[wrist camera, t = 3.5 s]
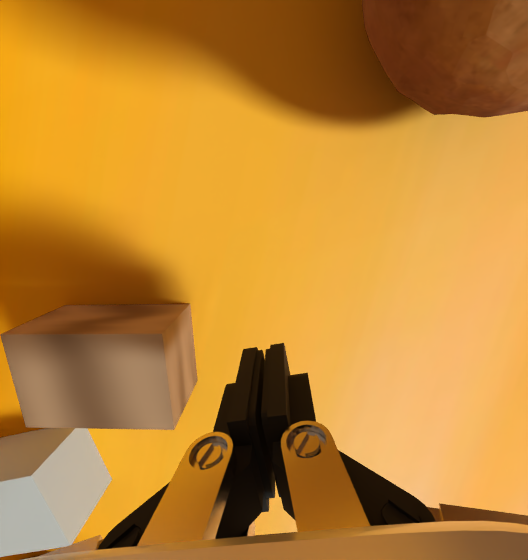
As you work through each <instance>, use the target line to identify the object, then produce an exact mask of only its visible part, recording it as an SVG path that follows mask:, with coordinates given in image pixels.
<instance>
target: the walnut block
mask: <svg viewBox="0 0 528 560" xmlns="http://www.w3.org/2000/svg"><path fill="white" fill-rule="evenodd" d="M0 335H1V339H2V342H3V346H4V350H5V353H6V357H7V360H8V364H9V368H10V371H11V375H12V378H13V382H14V386H15V389H16V393H17V397H18V400H19V404H20V407H21V411H22V415H23V418H24V422H25V425H26V427H35V428H100V429H165V430H174V429H175V427H176V425H177V423H178V420H179V418H180V416H181V414H182V412H183V410H184V408H185V406H186V404H187V401H188V399H189V397H190V395H191V393H192V391H193V389H194V387H195V385H196V383H197V370H196V360H195V349H194V339H193V328H192V318H191V307H190V304H129V305H65V306H62V307H60V308H58V309H56V310H54V311H51V312H49V313H47V314H45V315H42V316H40V317H38V318H36V319H34V320H31V321H29V322H27V323H25V324H22V325H20V326H18V327H16V328H14V329H11V330H9V331H7V332H5V333H2V334H0Z"/></svg>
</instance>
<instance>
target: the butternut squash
mask: <svg viewBox="0 0 528 560" xmlns="http://www.w3.org/2000/svg"><path fill="white" fill-rule="evenodd" d="M362 7H363V16H364V25H365V28H366V32H367V35H368V39H369V42H370V44H371V46H372V48H373V50H374V52H375V54H376V56H377V58H378V60H379V62H380V63H381V65H382V67H383V69H384V71H385V72H386V74H387V76H388V77H389V79H390V80H391V82H392V83H393V85H394V86H395V88H396V90H397V91H398V92H400V93H401V94H402V95H404V96H406V97H408V98H410V99H411V100H413V101H414V102H416V103H417V104H418V105H420V106H421V107H423V108H424V109H426V110H427V111H429V112H430V113H432V114H434V115H436V114H459V115H469V116H477V117H492V116H498V115H504V114H510V113H517V112H523V111H528V0H362Z"/></svg>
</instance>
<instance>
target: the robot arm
mask: <svg viewBox="0 0 528 560" xmlns="http://www.w3.org/2000/svg"><path fill="white" fill-rule="evenodd" d="M275 481H276V486H277V490H278V494H279V497H281V499H282V504H283V508H284V510H285V511H286V512H287V513H288V514H289V515H290V516H291V517H292V518H293V519H295V520H296V525H297V530H298V532H292V533H280V534H268V535H256V536H254V534H255V523H254V520H255V519H256V518H257V517H258V516H259V515H260V513H261V512H268V511H269V498H274V497H275ZM21 560H528V516H526V515H518V514H511V513H504V512H497V511H489V510H482V509H475V508H468V507H460V506H453V505H446V504H439V509H437V508H430V507H426V506H425V505H424V504H423V503H422V502H421V501H419V500H418V499H417V498H415V497H414V496H412V495H411V494H409V493H408V492H406V491H404V490H403V489H401V488H399V487H398V486H396V485H394V484H393V483H391V482H390V481H388V480H386V479H385V478H383V477H381V476H380V475H378V474H376V473H375V472H373V471H372V470H370V469H368V468H367V467H365V466H363V465H362V464H360V463H358V462H357V461H355V460H354V459H352V458H350V457H349V456H347V455H345V454H344V453H342V452H340V451H339V450H338V449H337V447H336V445H335V442H334V440H333V438H332V435H331V433H330V432H329V430H328V429H327V428H326V427H325V426H324V425H322V424H320V423H318V422H316V419H315V413H314V407H313V402H312V396H311V390H310V384H309V379H308V373H303V374H296V375H290V371H289V366H288V361H287V356H286V351H285V346H284V343H281V344H274V345H271V346H270V349H266V354H265V359H264V354H263V351H262V350H258V349H257V347H255V348H248V349H243V352H242V357H241V361H240V366H239V370H238V374H237V379H236V383H232V384H227V385H226V387H225V390H224V394H223V397H222V401H221V405H220V408H219V412H218V416H217V419H216V423H215V426H214V430H213V432H212V433H208V434H205V435H203V436H201V437H200V438H198V439H196V440H195V441H194V442H193V443H192V444H191V445H190V446H189V448H188V449H187V451H186V453H185V455H184V456H183V458H182V460H181V462H180V464H179V466H178V468H177V470H176V472H175V474H174V476H173V478H172V480H171V481H170V482H169V483H168V484H167V485H166V486H164V487H163V488H162V489H161V490H160V491H158V492H157V493H156V494H155V495H153V496H152V497H151V498H150V499H148V500H147V501H146V502H145V503H143V504H142V505H141V506H140V507H139V508H137V509H136V510H135V511H134V512H132V513H131V514H130V515H129V516H127V517H126V518H125V519H124V520H123V521H121V522H120V523H119V524H118V525H116V526H115V527H114V528H113V529H112V530H111V531H110V532H109V533H108V534H107V536H106V537H105V538H104V539H102V537H101V535H99V536H96V537H93V538H90V539H87V540H84V541H81V542H78V543H75V544H72V545H70V546H67V547H64V548H61V549H58V550H55V551H52V552H49V553H46V554H43V555H40V556H38V557H33V558H27V559H21Z"/></svg>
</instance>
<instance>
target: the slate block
mask: <svg viewBox="0 0 528 560" xmlns="http://www.w3.org/2000/svg"><path fill="white" fill-rule="evenodd" d="M111 480H112V478H111V476H110V474H109V472H108V470H107V468H106V466H105V464H104V462H103V460H102V458H101V456H100V454H99V452H98V450H97V448H96V445H95V443H94V441H93V439H92V437H91V435H90V433H89V431H88V429H87V428H44V429H39V430H35V431H30V432H25V433H21V434H16V435H11V436H7V437H2V438H0V557H3V556H10V555H16V554H22V553H29V552H35V551H42V550H48V549H54V548H61V547H67V546H70V545H72V543H73V542H74V540H75V538H76V537H77V535H78V534H79V532H80V530H81V529H82V527H83V526H84V524H85V522H86V521H87V519H88V517H89V516H90V514H91V513H92V511H93V509H94V508H95V506H96V505H97V503H98V501H99V500H100V498H101V496H102V495H103V493H104V492H105V490H106V488H107V487H108V485H109V484H110V482H111Z"/></svg>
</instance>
